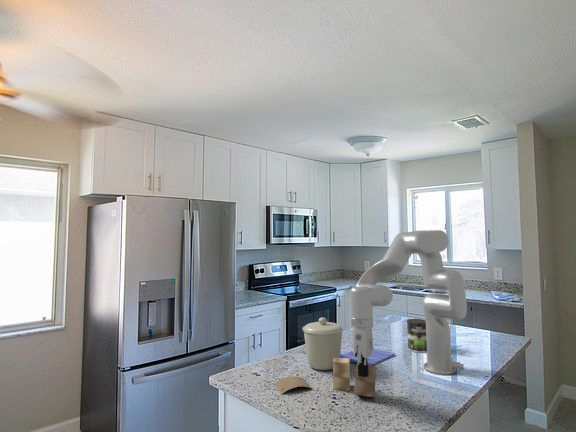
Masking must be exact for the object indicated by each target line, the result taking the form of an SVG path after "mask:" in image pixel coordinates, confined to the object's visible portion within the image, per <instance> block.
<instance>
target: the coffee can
mask: <svg viewBox="0 0 576 432" xmlns="http://www.w3.org/2000/svg"><path fill="white" fill-rule="evenodd" d="M406 323H407V325H406V327H407V329H406V330H407V350H409V351H411V352H413V353H419V354H420V353H421V354H422V353H424V354H425V353H427V341H426V321H425V319H421V318H408V319H407V320H406Z"/></svg>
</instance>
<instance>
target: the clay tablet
mask: <svg viewBox="0 0 576 432" xmlns="http://www.w3.org/2000/svg"><path fill="white" fill-rule="evenodd" d="M273 386H275V388H276V389H277V391H278V392H279V394H280V393H281V394H280V395H283V394H284V393H286V392H287V391H289V390H291V389H295V388H297V387H301V388H303V387H304V388H305V387H306V388H309V389H310V390H313V387H312V386H311V385H310V384H309V383H308V382H307V381H306V380H305V378H303V377H300V376H295V375H294V376H287V377H286V376H285V377H283V378H280V379H279V380H278V381H276V382H274V384H273ZM310 386H311V387H310Z"/></svg>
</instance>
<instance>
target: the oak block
mask: <svg viewBox="0 0 576 432" xmlns="http://www.w3.org/2000/svg"><path fill="white" fill-rule="evenodd" d="M350 367H351V363H350V358H334V359H333V369H332V380H333V383H332V384H333V388H332V389H333V390H336V391H347V392H348V391H351V368H350Z"/></svg>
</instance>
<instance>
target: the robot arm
mask: <svg viewBox="0 0 576 432" xmlns="http://www.w3.org/2000/svg"><path fill="white" fill-rule="evenodd" d="M448 246H449V237H448V234H447V233H446V232H445V231H443V230H441V229H436V230H435V229H433V230H413V231H404V232H403V231H401V232H399V233H398V234H396V236H395V237H394V239H393V241H392V242H391V244H390V245H389V247H388V248H387V251H386V252H385V254H384V256H383V257H382V259H380V260H379V261H377V262H376V263H374V264H373V265H371V266H370V267H369V268H367V269H366V271H364V272H363V273H362V275H361V276H360V278H359V280H358V282H357V283H356V286H352V287H351V289H350V290H349V291H350V295H349V296H350V297H349V298H350V327H351V328H353V331H352V332H353V336H352V340H353V341H352V346H353V348H352V351H353V353H354V357H357V362H358V376H362V377H367V376H368V358H369V357H370V355H371V354H372V353H373V349H374V343H373V330H372V329H373V327H374V322H373V321H374V320H373V319H374V317H373V307H387V306H389V304H391V302H392V300H393V295H394V294H393V291H392V290H391V289H390V287H388V286H386V285H383V284H377V283H379V282H380V281H382V280H384V279H386V278H390V277H391V276H396V275H398V274H400V273H402V272H403V271H404V269H405V267H406V265H407V263H408V262H409V259H410V257H411V256H412V255H413V254H416V255H417V256H418V257H419V259H420V264H421V273H422V280H423V284H424V287H425V289H427V290H428V291H431V292H432V291H433V292H434V293H433V292H432V293H431V292H430V293H428V294H425V296H423V298H422V308H423V313H424V320H425V321H426V341H427V352H426V362H425V363H424V364H423V369H424V370H426V371H427V372H429V373H432V374H434V375H435V374H436V375H444V376H445V375H452V374H455V373H456V372H457V369H459V370H464V363H461V362H460V361H459V362H457V361H454V360H453V357H452V345H451V343H452V342H451V326H450V323H449V321H448V319H449V320H455V321H461V320H463V319H464V318H465V317H466V315H467V312H468V306H467V297H466V296H467V295H466V288H465V279H464V278H463V275H462V273H460V272H459V271H458V270H456V269H448V268H444V263H443V258H442V257H443V256H442V255H441V252H443V251H445V250H446V249H447V248H448ZM435 292H440V293H435ZM445 293H447V294H445ZM366 363H367V364H366Z"/></svg>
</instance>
